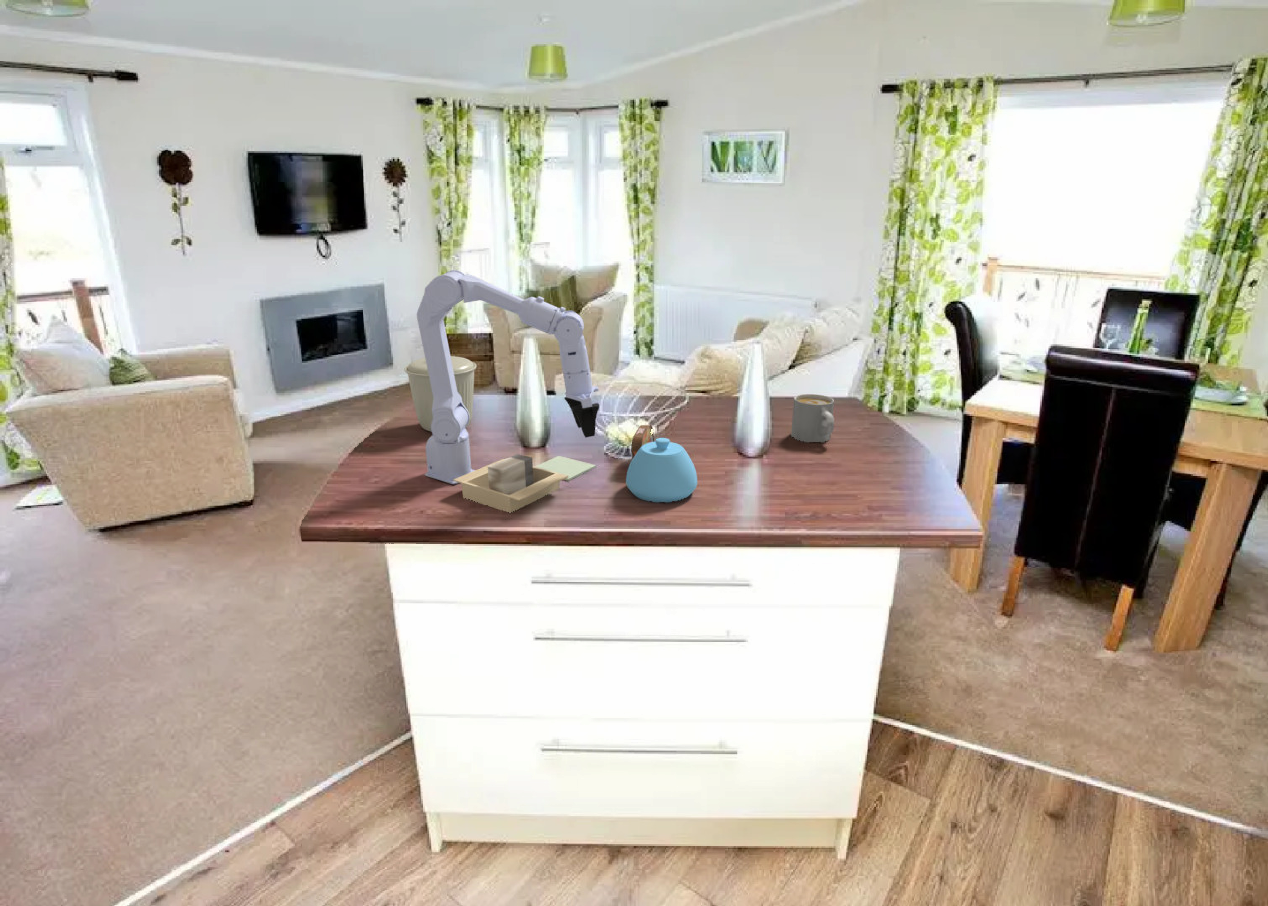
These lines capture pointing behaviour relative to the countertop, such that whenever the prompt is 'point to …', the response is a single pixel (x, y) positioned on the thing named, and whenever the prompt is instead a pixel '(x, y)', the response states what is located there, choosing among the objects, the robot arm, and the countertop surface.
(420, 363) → the canister
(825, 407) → the coffee mug
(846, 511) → the countertop surface
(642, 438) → the tin
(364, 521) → the countertop surface
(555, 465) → the mat
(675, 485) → the sugar bowl
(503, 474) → the box
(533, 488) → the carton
